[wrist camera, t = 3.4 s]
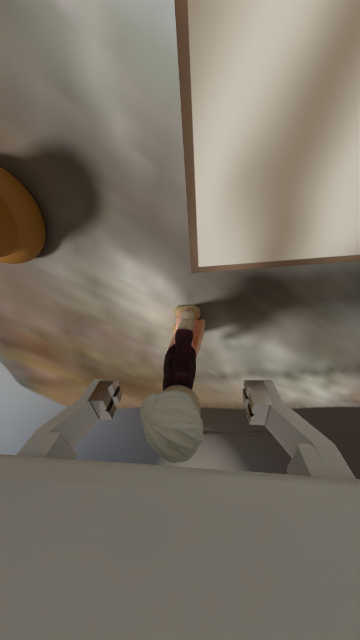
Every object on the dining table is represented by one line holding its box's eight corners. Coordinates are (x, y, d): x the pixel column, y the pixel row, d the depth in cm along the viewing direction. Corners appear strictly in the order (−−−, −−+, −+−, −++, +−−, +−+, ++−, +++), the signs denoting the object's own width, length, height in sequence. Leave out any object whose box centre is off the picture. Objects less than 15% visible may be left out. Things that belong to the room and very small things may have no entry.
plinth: (431, -23, 8) (699, -305, 4) (339, 248, 14) (402, 260, 10) (180, 39, 10) (166, -111, 5) (193, 260, 15) (191, 275, 11)
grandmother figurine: (203, 346, 20) (209, 492, 9) (171, 345, 21) (141, 485, 10) (206, 284, 16) (224, 407, 6) (167, 283, 17) (110, 399, 6)
